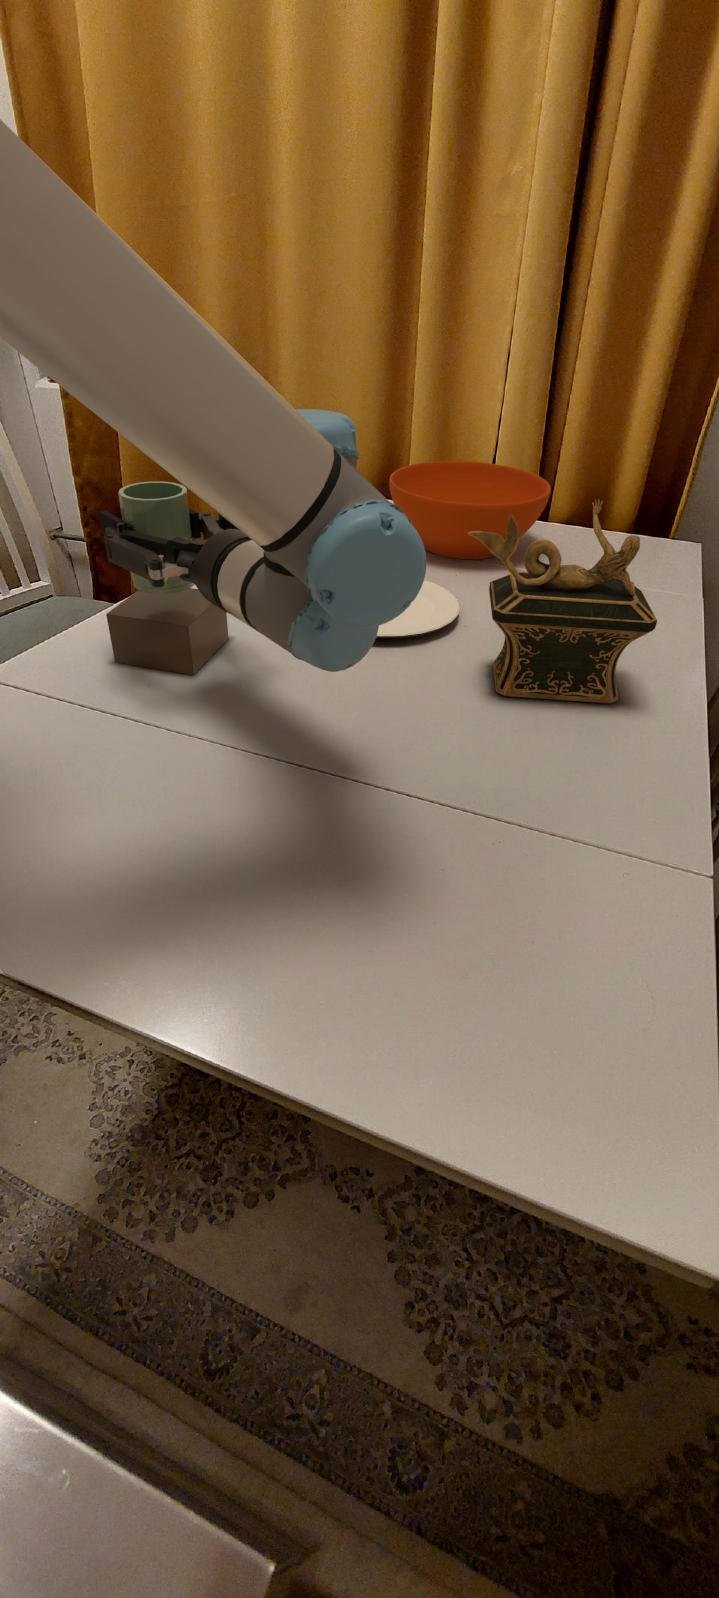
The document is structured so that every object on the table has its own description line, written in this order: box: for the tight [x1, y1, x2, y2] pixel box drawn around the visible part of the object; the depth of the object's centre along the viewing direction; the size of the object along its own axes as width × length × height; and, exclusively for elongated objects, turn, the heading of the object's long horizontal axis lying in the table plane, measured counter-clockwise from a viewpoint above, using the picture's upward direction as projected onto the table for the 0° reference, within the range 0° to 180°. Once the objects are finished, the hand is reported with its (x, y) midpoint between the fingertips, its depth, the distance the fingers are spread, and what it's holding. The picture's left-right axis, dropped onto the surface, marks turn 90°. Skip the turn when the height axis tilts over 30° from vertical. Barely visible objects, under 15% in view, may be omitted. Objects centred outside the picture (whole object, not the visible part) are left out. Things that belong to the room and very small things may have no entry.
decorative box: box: [468, 498, 658, 704], centre depth 82 cm, size 20×10×20 cm, turn 85°
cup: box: [117, 480, 196, 594], centre depth 83 cm, size 7×7×10 cm
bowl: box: [388, 460, 552, 560], centre depth 122 cm, size 25×25×10 cm
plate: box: [376, 579, 461, 639], centre depth 101 cm, size 21×21×2 cm
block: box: [105, 587, 230, 676], centre depth 89 cm, size 10×10×6 cm
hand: (137, 517), depth 85 cm, fingers closed on cup, 7 cm apart
